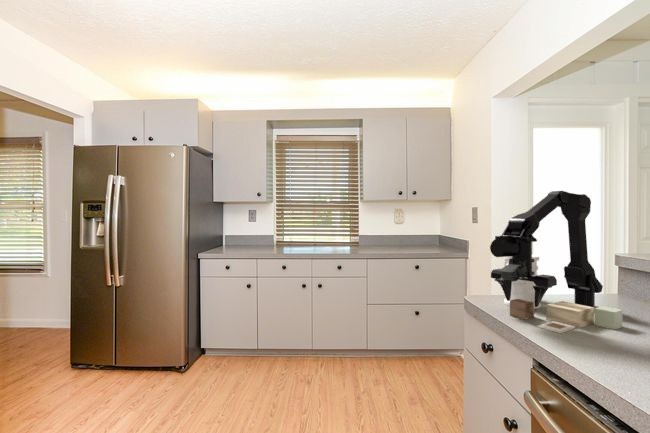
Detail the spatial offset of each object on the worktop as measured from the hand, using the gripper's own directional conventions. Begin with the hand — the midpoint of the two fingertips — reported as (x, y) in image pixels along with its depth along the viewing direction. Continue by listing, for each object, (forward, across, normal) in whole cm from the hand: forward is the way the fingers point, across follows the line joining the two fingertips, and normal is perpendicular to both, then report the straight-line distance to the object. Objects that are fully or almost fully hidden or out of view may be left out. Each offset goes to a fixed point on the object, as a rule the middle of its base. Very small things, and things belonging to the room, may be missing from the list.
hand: (521, 303), depth 115 cm
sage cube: (+4, +19, +12) cm, 23 cm away
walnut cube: (+4, 0, 0) cm, 4 cm away
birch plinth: (+4, +11, +7) cm, 14 cm away
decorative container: (+4, -8, +14) cm, 17 cm away
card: (+4, +12, -3) cm, 13 cm away
